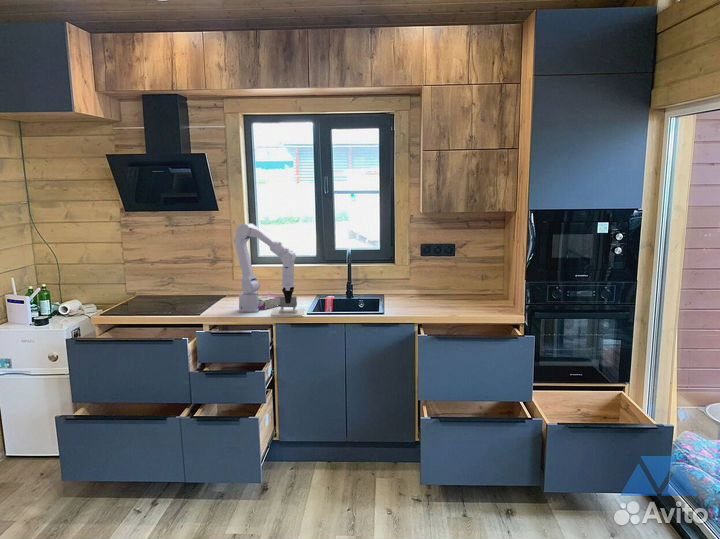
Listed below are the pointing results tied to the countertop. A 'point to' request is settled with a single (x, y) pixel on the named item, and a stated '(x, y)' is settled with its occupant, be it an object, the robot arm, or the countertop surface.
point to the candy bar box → (268, 301)
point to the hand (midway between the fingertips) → (288, 302)
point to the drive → (292, 303)
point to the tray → (287, 312)
